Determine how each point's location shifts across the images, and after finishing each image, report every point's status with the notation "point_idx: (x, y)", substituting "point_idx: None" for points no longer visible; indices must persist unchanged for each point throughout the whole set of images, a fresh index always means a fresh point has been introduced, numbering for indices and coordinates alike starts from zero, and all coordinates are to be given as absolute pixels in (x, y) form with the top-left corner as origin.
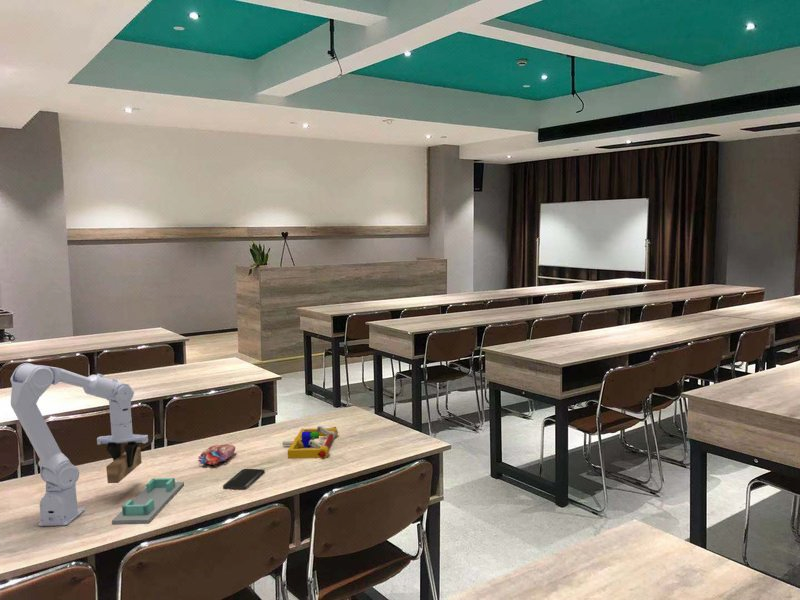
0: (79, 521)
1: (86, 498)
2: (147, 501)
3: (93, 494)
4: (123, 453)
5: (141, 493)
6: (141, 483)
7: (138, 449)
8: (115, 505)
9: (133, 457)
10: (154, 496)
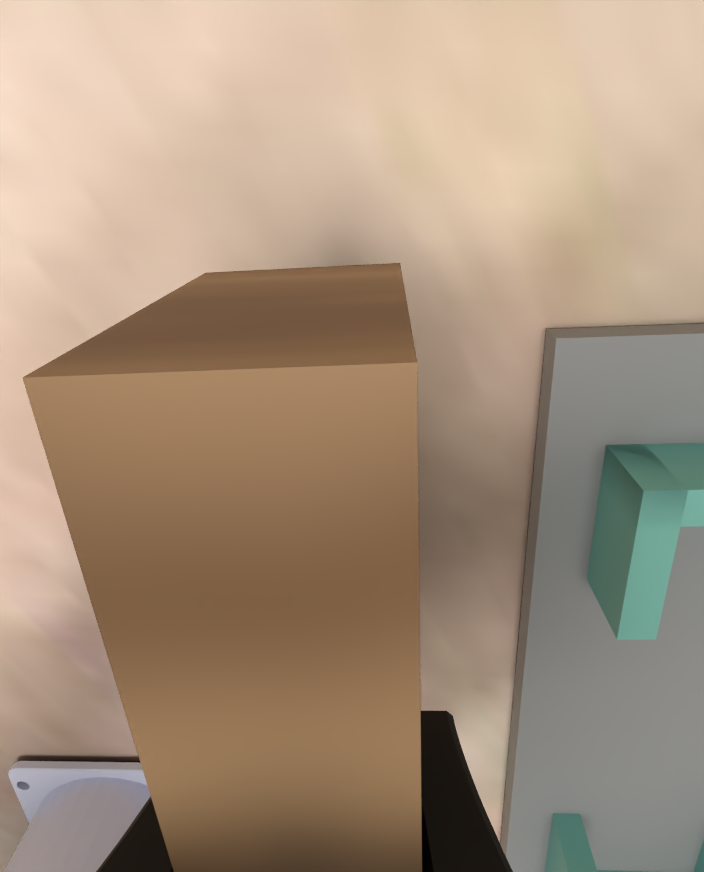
0: None
1: (46, 584)
2: (653, 732)
3: (42, 513)
4: (161, 814)
5: (541, 598)
6: (382, 247)
7: (416, 511)
8: None
9: (485, 853)
10: (690, 657)
